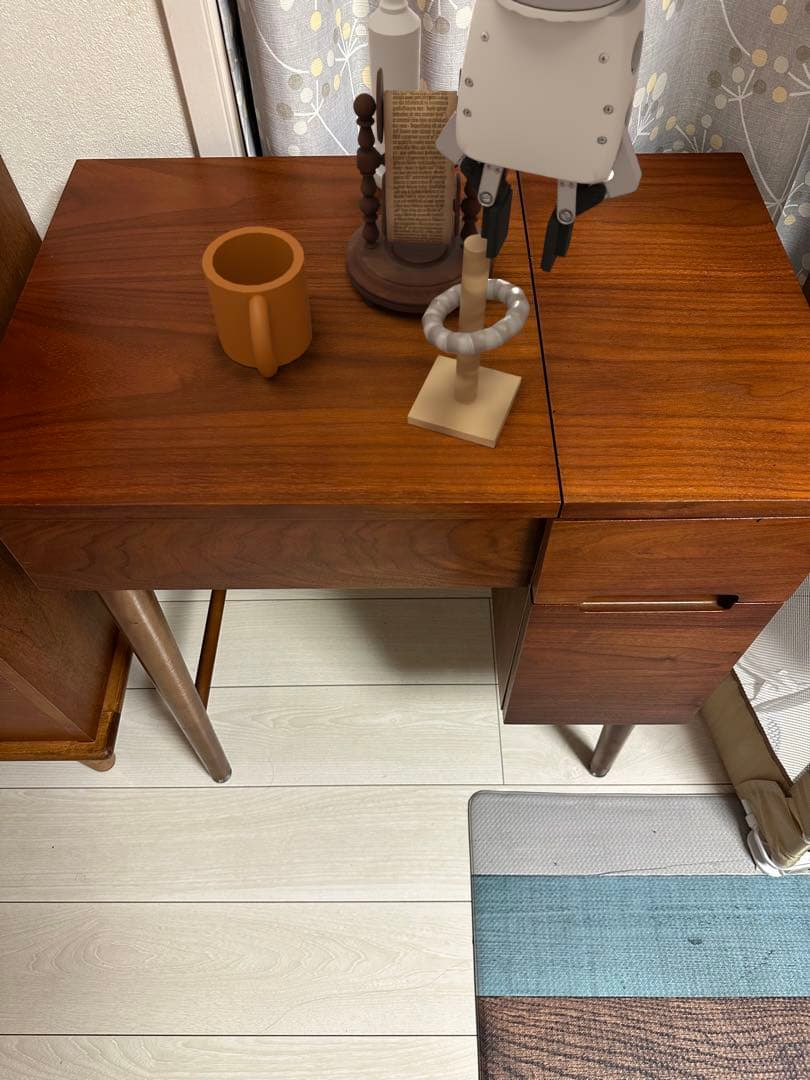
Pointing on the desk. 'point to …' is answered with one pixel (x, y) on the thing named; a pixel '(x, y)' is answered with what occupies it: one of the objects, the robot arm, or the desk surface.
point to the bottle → (393, 54)
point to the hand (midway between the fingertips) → (523, 251)
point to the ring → (481, 338)
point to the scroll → (409, 202)
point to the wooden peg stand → (467, 370)
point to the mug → (259, 296)
